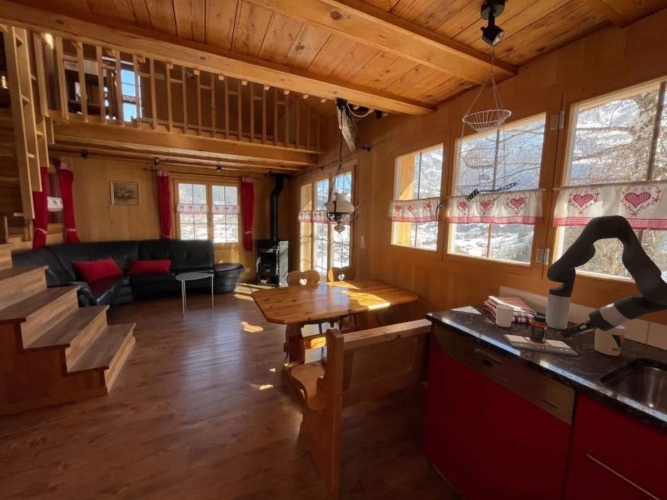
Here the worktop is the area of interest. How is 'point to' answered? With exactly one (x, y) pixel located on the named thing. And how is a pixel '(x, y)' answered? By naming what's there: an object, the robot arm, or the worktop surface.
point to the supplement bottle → (538, 329)
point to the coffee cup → (609, 340)
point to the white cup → (504, 315)
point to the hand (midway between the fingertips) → (568, 334)
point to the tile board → (539, 345)
